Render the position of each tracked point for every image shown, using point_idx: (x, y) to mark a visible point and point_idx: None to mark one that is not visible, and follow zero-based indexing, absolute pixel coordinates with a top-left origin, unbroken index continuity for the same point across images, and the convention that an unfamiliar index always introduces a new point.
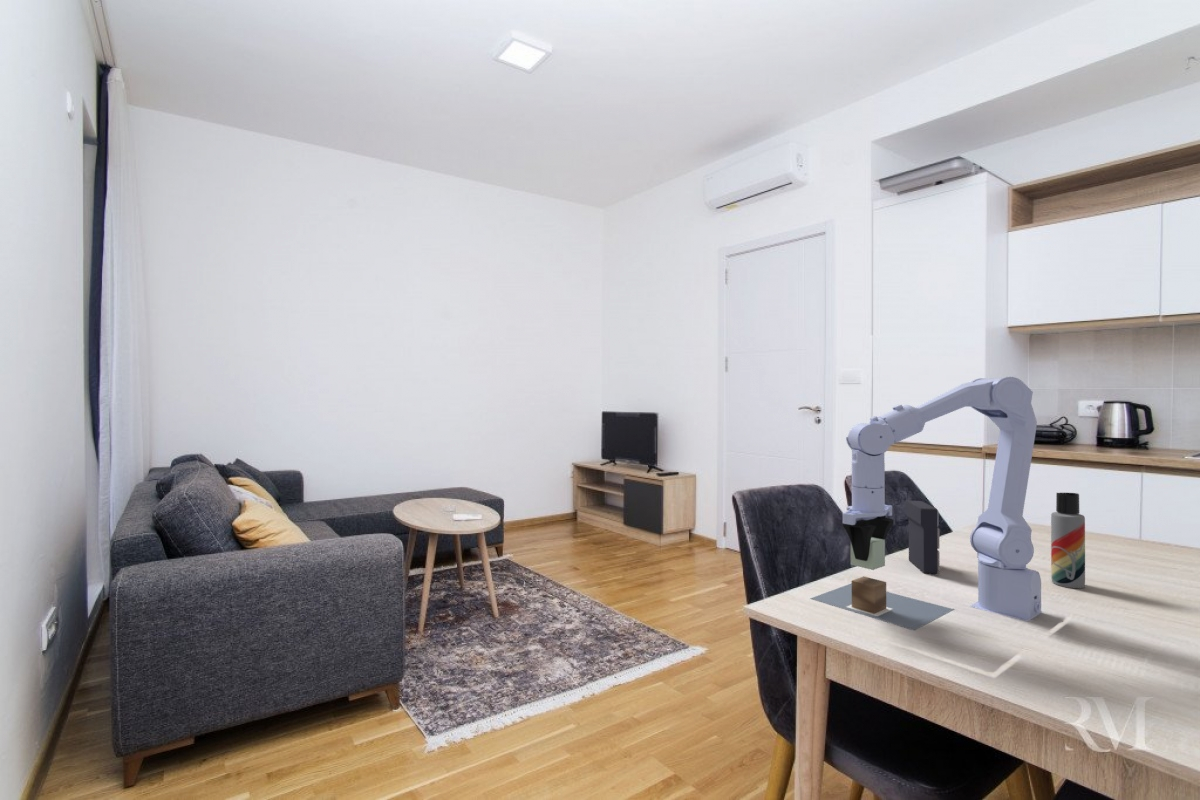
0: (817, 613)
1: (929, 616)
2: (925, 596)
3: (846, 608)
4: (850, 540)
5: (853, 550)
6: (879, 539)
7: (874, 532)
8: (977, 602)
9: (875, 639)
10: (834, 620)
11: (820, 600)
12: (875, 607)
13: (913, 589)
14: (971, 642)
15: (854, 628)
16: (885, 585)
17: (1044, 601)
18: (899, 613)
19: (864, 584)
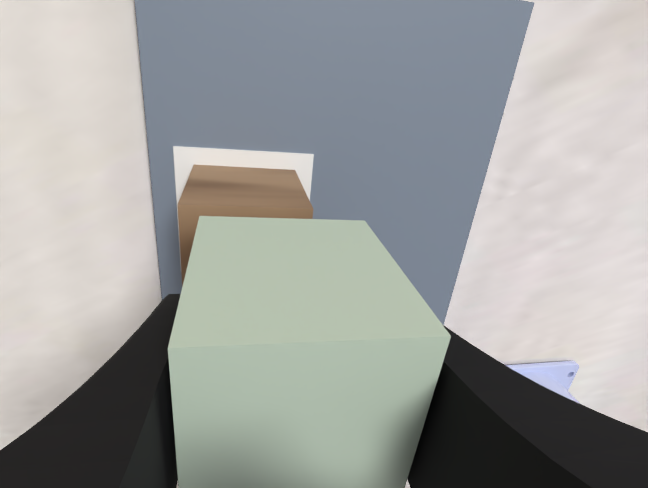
0: (17, 66)
1: None
2: (532, 256)
3: (161, 155)
4: (75, 391)
5: (141, 326)
6: (375, 484)
7: (451, 482)
8: (526, 370)
9: (8, 337)
10: (20, 166)
11: (152, 5)
12: None
13: (589, 203)
14: None
15: (25, 255)
16: None
17: (626, 417)
18: None
19: (181, 272)
